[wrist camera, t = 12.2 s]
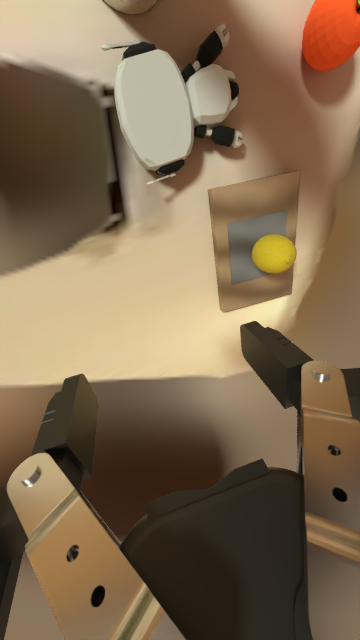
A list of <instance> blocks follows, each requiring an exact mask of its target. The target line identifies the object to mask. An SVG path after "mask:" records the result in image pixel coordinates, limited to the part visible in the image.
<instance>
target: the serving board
mask: <svg viewBox="0 0 360 640" xmlns="http://www.w3.org/2000/svg"><path fill="white" fill-rule="evenodd" d="M299 181H300V171H295V172H290V173H285V174H280V175H276V176H271V177H266V178H261V179H257V180H252V181H247V182H242V183H237V184H233V185H228V186H223V187H218V188H214V189H209V190H208V195H209V205H210V215H211V225H212V235H213V244H214V254H215V264H216V274H217V284H218V293H219V303H220V310H221V311H222V312H227V311H230V310H234V309H238V308H241V307H245V306H248V305H252V304H255V303H259V302H262V301H266V300H270V299H273V298H277V297H280V296H284V295H287V294H291V293H292V281H293V266H294V263H293V265H292V266H291V267H290V268H289V269H287V270H286V271H284V272H281V273H267V272H264V271H262V270H260V269H259V268H258V267H257V266H256V265H255V264H254V262H253V259H252V250H253V247H254V245H255V244H256V242H257V241H258V240H259V239H260V238H262V237H264V236H267V235H270V234H278V235H281V236H284V237H286V238H288V239H289V240H290V241H292V243H293V244H294V245H295V238H296V224H297V209H298V195H299Z"/></svg>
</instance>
